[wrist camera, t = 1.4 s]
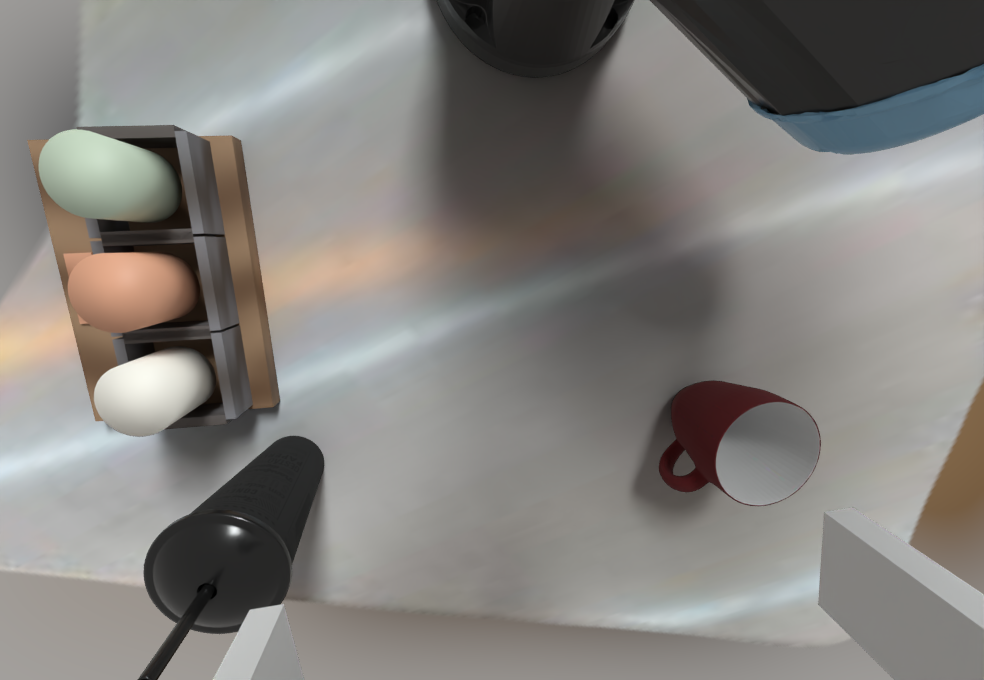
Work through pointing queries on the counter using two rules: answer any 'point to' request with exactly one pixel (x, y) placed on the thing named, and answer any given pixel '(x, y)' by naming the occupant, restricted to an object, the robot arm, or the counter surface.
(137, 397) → the button ivory
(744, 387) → the mug
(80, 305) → the button terracotta
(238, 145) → the wooden compartment tray
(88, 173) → the pale green rounded cylinder
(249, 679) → the robot arm
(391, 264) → the counter surface
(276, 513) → the drinking cup
